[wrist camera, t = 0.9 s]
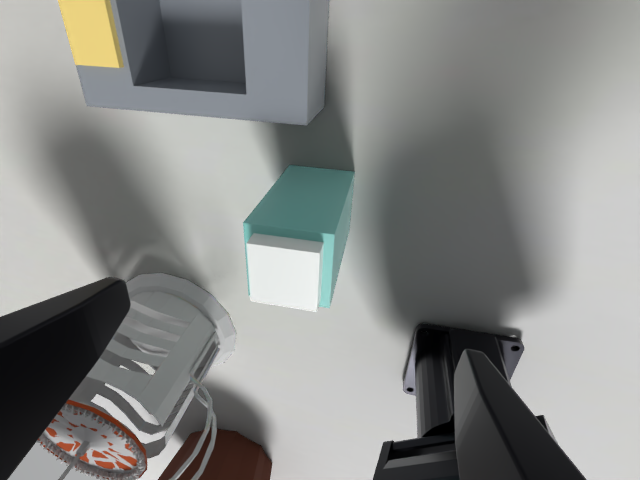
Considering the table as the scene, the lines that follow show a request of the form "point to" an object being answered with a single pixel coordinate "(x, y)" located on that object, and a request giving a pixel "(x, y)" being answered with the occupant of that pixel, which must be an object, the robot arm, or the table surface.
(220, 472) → the muffin
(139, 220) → the table surface
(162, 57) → the port block
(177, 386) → the french press
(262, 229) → the teal rectangular block
